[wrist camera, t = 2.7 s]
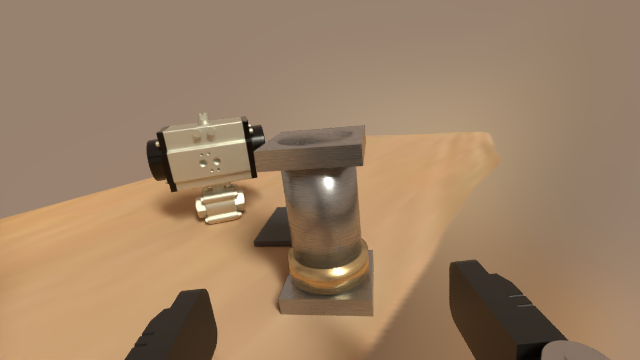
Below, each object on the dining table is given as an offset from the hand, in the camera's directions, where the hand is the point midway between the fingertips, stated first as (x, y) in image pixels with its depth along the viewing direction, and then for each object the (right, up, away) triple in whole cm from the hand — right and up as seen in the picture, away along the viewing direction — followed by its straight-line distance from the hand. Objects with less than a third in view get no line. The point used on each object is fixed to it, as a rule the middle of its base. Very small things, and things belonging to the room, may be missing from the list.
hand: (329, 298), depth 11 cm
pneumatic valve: (-11, -1, +27) cm, 30 cm away
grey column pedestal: (+1, -4, +13) cm, 14 cm away
